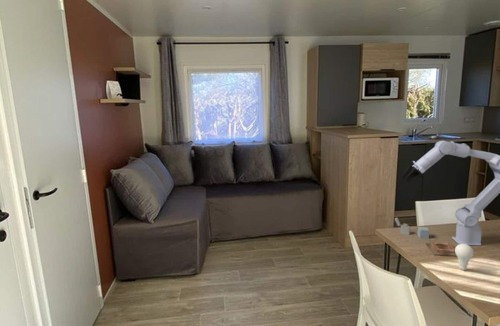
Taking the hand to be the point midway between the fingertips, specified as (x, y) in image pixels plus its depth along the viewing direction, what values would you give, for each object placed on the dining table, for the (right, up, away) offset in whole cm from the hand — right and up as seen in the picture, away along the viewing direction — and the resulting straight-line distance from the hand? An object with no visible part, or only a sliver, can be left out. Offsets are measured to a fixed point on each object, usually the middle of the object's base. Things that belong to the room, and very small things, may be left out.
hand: (404, 179), depth 149 cm
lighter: (+5, -29, +12) cm, 32 cm away
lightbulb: (+11, -35, -25) cm, 45 cm away
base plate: (+13, -32, -9) cm, 36 cm away
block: (+13, -30, +6) cm, 33 cm away
